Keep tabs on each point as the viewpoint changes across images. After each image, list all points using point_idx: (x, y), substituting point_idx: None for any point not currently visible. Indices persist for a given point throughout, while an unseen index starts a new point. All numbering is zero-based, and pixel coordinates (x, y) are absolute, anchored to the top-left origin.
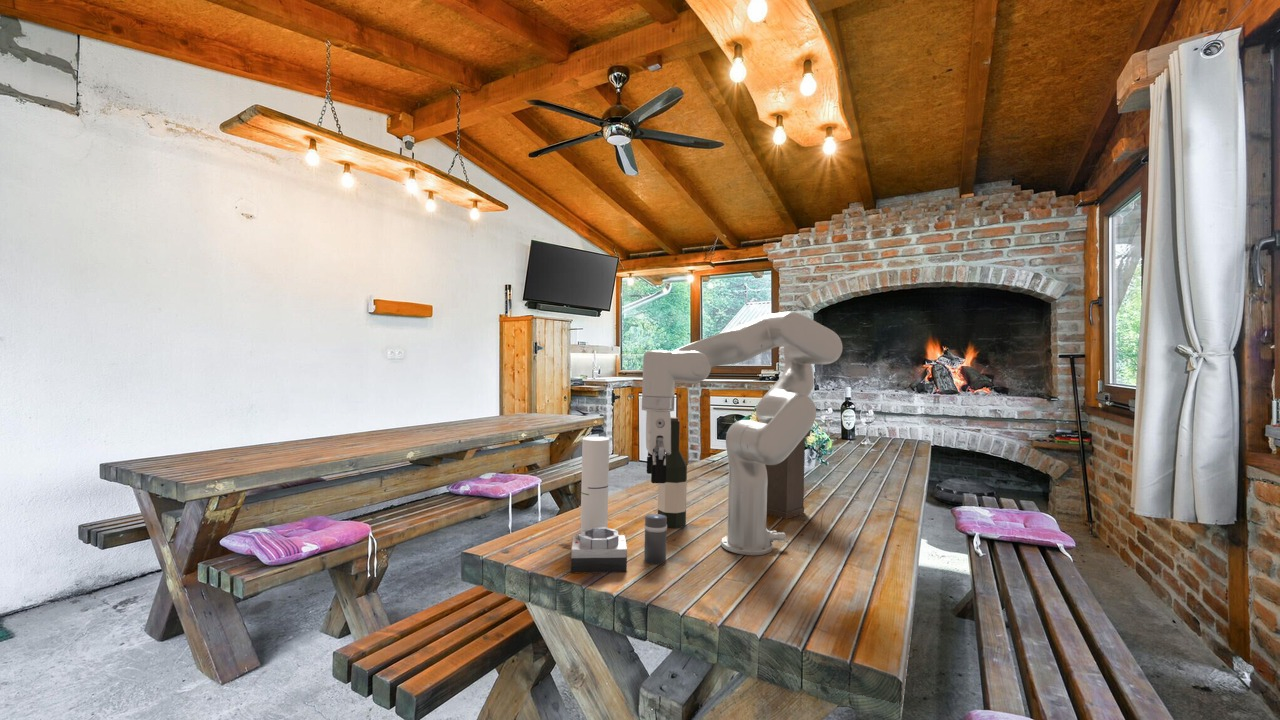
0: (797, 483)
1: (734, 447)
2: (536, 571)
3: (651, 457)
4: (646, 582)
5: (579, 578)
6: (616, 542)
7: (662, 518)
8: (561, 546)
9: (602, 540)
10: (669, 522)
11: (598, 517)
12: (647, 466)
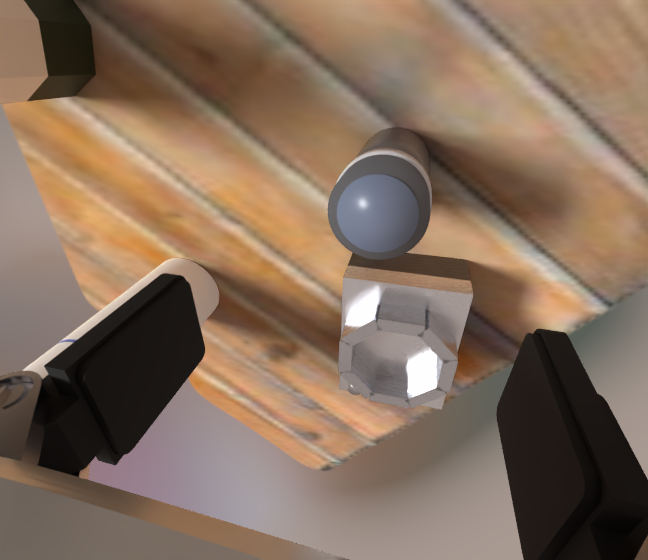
0: None
1: None
2: (416, 413)
3: (101, 433)
4: (558, 221)
5: (474, 358)
6: (433, 321)
7: (410, 191)
8: (284, 359)
9: (455, 370)
10: (77, 53)
11: None
12: (171, 389)
